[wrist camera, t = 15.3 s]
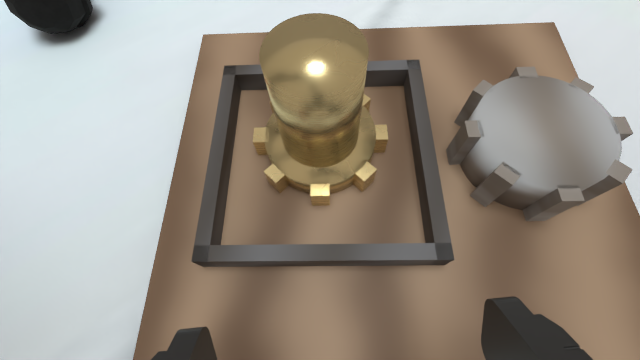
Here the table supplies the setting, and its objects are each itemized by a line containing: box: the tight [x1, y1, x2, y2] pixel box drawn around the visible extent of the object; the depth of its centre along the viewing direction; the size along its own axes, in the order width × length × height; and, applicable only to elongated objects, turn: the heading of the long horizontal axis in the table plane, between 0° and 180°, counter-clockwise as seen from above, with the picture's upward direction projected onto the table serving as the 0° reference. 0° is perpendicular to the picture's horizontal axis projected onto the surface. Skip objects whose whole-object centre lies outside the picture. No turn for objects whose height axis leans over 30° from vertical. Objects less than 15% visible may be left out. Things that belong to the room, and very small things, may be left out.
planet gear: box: [253, 13, 388, 206], centre depth 16 cm, size 8×8×8 cm
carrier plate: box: [133, 22, 640, 360], centre depth 18 cm, size 26×22×4 cm
